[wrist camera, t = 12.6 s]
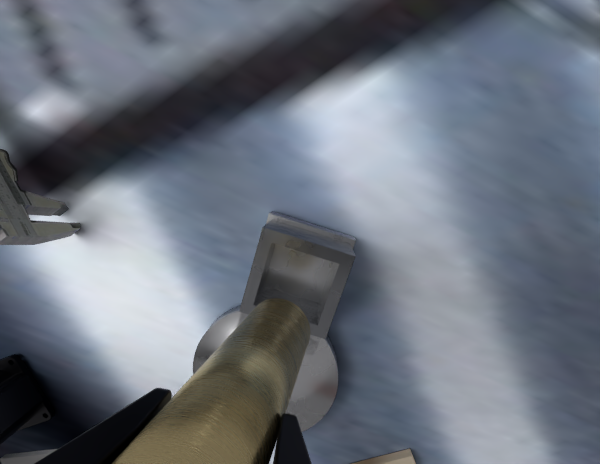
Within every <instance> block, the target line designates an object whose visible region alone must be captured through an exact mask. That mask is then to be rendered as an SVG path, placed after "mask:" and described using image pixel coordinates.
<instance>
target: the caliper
mask: <svg viewBox="0 0 600 464" xmlns="http://www.w3.org/2000/svg"><path fill="white" fill-rule="evenodd" d="M17 181H18V176H17V169H16V168H15V167H14V166H13V165H12V163H11V162H10V160H9V154H8V153H7V151H5V150H3V149H0V245H35V244H40V243H44V242H48V241H52V240H57V239H61V238H65V237H68V236H71V235H72V234H74V233H75V232H76V231H78V230H79V229H80V223H64V222H47V221H31V220H30V218H29V216H28V215H44V216H51V215H58V216H60V215H61V214H63V213H64V212H65V211H66V210H68V209H69V208H68V207H67V206H66V204H65V203H63V202H60V201H56V200H53V199H50V198H46V197H43V196H40V195H36V194H33V193H30V192H27V191H23V190H21V189H20V187H19V186H18V184H17Z"/></svg>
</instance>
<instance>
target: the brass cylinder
mask: <svg viewBox="0 0 600 464" xmlns="http://www.w3.org/2000/svg"><path fill="white" fill-rule="evenodd" d="M310 334H311V331H310V324H309V321H308V319H307V317H306V315H305V313H304V312H303V311H302V310H301V309H300V308H299V307H298V306H297V305H296V304H294V303H292V302H290V301H288V300H285V299H280V298H273V299H268V300H265V301H263V302H261V303H260V304H258V305H257V306H256V307H255V308H254V309H253V310H252V312H251V313H250V314H249V315H248V316H247V317H246V318H245V319H244V320H243V321H242V322H241V324H240V325H239V326H238V327H237V328H236V329H235V330H234V331H233V332H232V333H231V334H230V335H229V337H228V338H227V339H226V340H225V341H224V342H223V343H222V344H221V345H220V346H219V347H218V349H217V350H216V351H215V352H214V353H213V354H212V355H211V356H210V357H209V358H208V359H207V360H206V362H205V363H204V364H203V365H202V366H201V367H200V368H199V369H198V370H197V371H196V372H195V374H194V375H193V376H192V377H191V378H190V379H189V380H188V381H187V382H186V383H185V384H184V385H183V387H182V388H181V389H180V390H179V391H178V392H177V393H176V394H175V395H174V396H173V397H172V399H171V400H170V401H169V402H168V403H167V404H166V405H165V406H164V407H163V408H162V409H161V410H160V412H159V413H158V414H157V415H156V416H155V417H154V418H153V419H152V420H151V421H150V422H149V424H148V425H147V426H146V427H145V428H144V429H143V430H142V431H141V432H140V433H139V434H138V435H137V437H136V438H135V439H134V440H133V441H132V442H131V443H130V444H129V445H128V446H127V447H126V449H125V450H124V451H123V452H122V453H121V454H120V455H119V456H118V457H117V458H116V459H115V460H114V462H113V463H112V464H269V461H270V458H271V455H272V452H273V449H274V446H275V443H276V440H277V437H278V432H279V427H280V421H281V415H282V414H283V413H286V410H287V407H288V404H289V401H290V398H291V395H292V392H293V389H294V386H295V383H296V380H297V376H298V373H299V370H300V367H301V364H302V361H303V358H304V355H305V352H306V349H307V346H308V343H309V340H310Z"/></svg>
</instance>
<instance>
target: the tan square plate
mask: <svg viewBox="0 0 600 464" xmlns="http://www.w3.org/2000/svg"><path fill="white" fill-rule="evenodd" d="M351 464H416V462H415V460H414V457H413V455H412V452H411V450H410V449H406V450H402V451H399V452H395V453H391V454H387V455H383V456H379V457H375V458H371V459H367V460H363V461H359V462H355V463H351Z"/></svg>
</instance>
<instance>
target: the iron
mask: <svg viewBox="0 0 600 464" xmlns="http://www.w3.org/2000/svg"><path fill="white" fill-rule="evenodd" d="M55 450H57V449H52V450H42V451H33V452H24V453H15V454H6V455H4V456H3V457H2V458H1V459H0V461H1V463H2V464H34V463H36V462H38V461H39V460H41V459H42V458H44V457H46V456H47V455H49V454H50V453H52V452H54V451H55Z"/></svg>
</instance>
